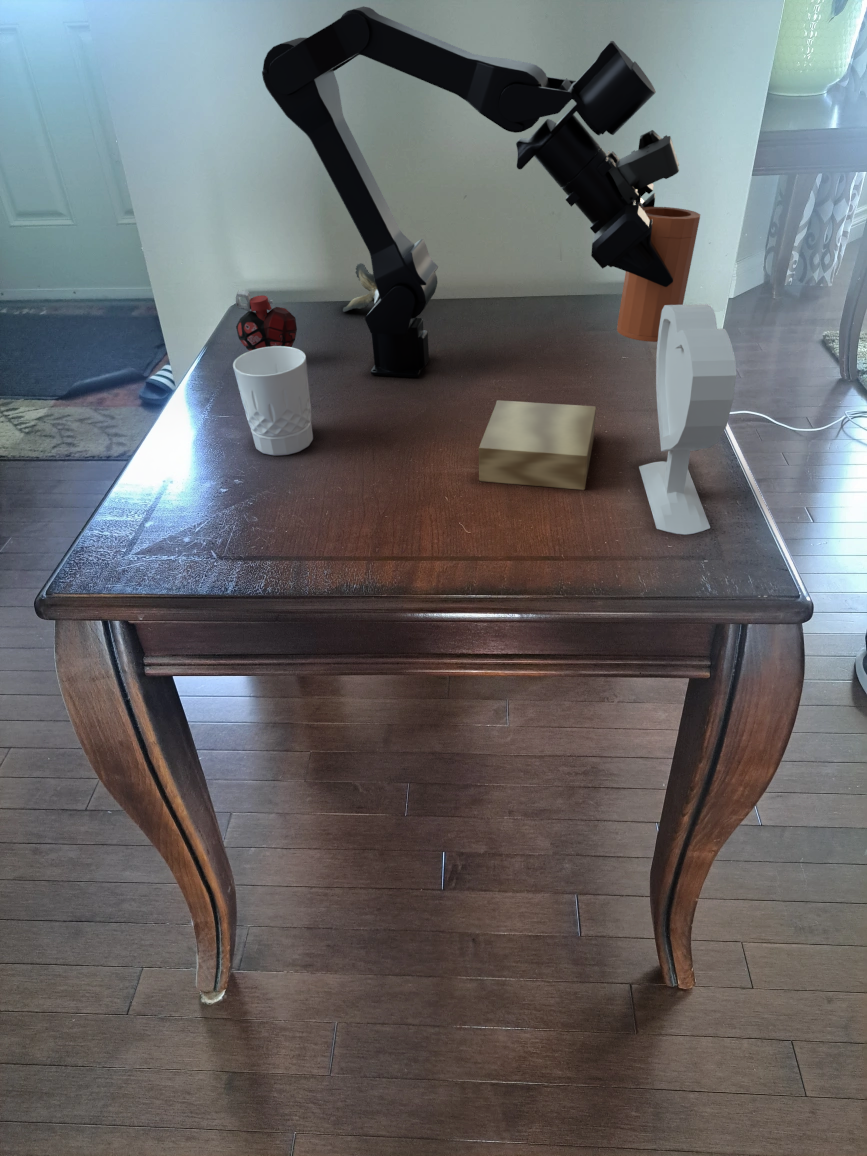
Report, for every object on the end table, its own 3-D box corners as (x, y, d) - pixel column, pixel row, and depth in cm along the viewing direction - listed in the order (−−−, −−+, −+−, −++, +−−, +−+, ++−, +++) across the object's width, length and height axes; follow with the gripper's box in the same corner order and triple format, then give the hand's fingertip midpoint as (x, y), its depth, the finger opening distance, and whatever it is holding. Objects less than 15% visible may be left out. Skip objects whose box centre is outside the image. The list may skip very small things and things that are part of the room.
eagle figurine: (410, 295, 130) (360, 279, 132) (402, 265, 123) (350, 248, 125) (389, 335, 128) (338, 317, 130) (380, 306, 121) (327, 289, 123)
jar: (605, 327, 101) (622, 208, 94) (650, 321, 104) (670, 205, 97) (642, 344, 96) (664, 220, 89) (689, 337, 99) (714, 216, 91)
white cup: (305, 461, 92) (291, 377, 86) (239, 456, 94) (221, 374, 88) (326, 427, 98) (315, 347, 92) (264, 424, 100) (248, 344, 94)
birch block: (479, 481, 87) (478, 447, 85) (497, 432, 96) (497, 400, 93) (584, 490, 85) (587, 455, 82) (593, 438, 93) (596, 406, 91)
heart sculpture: (636, 457, 90) (655, 290, 78) (683, 456, 89) (709, 289, 78) (660, 540, 77) (687, 357, 66) (715, 540, 77) (751, 355, 66)
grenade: (244, 359, 116) (229, 287, 110) (301, 353, 117) (290, 281, 110) (243, 374, 112) (228, 300, 106) (302, 367, 113) (291, 294, 106)
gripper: (635, 126, 80) (734, 248, 84) (643, 94, 94) (727, 200, 98) (549, 211, 86) (646, 320, 91) (568, 169, 100) (651, 265, 105)
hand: (670, 272), depth 96 cm, fingers closed on jar, 7 cm apart
